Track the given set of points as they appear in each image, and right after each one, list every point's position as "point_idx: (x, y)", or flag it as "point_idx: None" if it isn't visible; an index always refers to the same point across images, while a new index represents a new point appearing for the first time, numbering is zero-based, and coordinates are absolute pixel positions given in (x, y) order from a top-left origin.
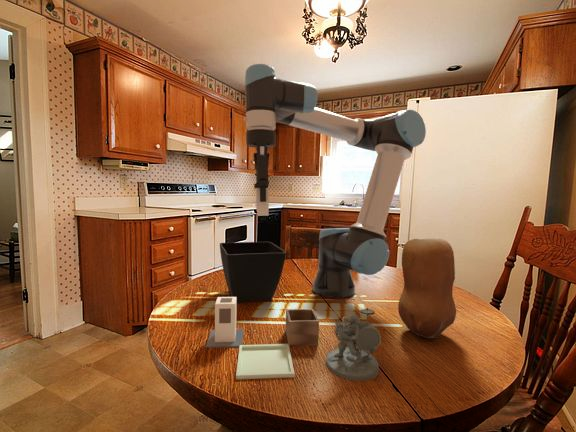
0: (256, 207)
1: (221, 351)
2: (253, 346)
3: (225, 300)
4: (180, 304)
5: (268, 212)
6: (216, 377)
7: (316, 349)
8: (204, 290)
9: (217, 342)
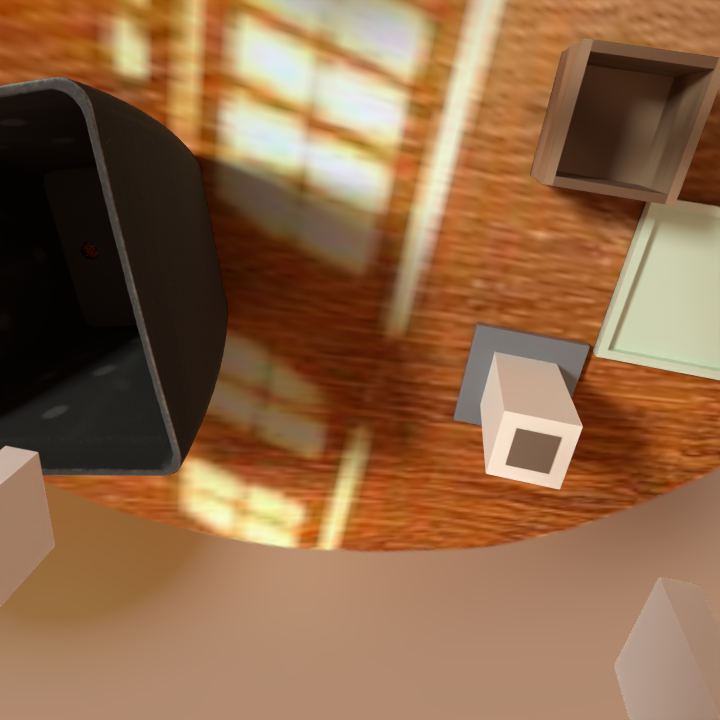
0: (21, 580)
1: (584, 399)
2: (619, 316)
3: (537, 454)
4: (223, 488)
5: (714, 618)
6: (711, 422)
7: None
8: None
9: None
